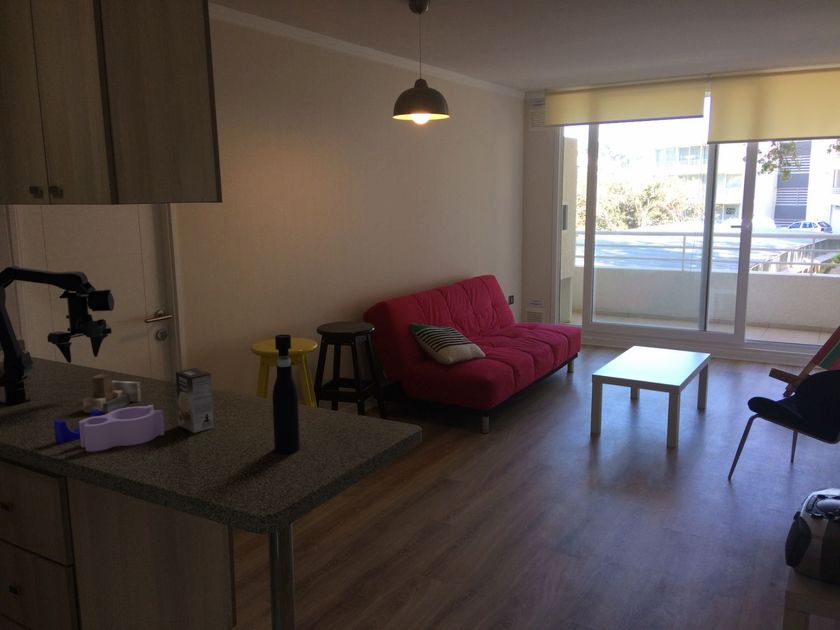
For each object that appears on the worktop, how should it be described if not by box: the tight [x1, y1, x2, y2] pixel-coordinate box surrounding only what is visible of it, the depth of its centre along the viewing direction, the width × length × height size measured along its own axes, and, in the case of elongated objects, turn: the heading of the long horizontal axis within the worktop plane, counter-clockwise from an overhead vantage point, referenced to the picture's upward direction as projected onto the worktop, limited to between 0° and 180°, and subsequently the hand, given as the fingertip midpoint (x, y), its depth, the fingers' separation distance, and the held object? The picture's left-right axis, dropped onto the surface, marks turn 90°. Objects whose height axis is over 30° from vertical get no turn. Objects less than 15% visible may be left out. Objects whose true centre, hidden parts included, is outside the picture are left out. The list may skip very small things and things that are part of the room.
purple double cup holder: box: [78, 404, 165, 452], centre depth 183 cm, size 20×12×7 cm, turn 133°
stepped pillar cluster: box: [82, 380, 142, 415], centre depth 213 cm, size 14×14×6 cm
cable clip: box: [53, 409, 104, 445], centre depth 186 cm, size 12×4×6 cm, turn 147°
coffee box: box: [175, 367, 214, 434], centre depth 192 cm, size 9×6×16 cm
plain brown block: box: [91, 373, 114, 402], centre depth 211 cm, size 4×4×10 cm
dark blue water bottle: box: [272, 334, 301, 455], centre depth 174 cm, size 6×6×30 cm
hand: (82, 359), depth 218 cm, fingers open, 9 cm apart
